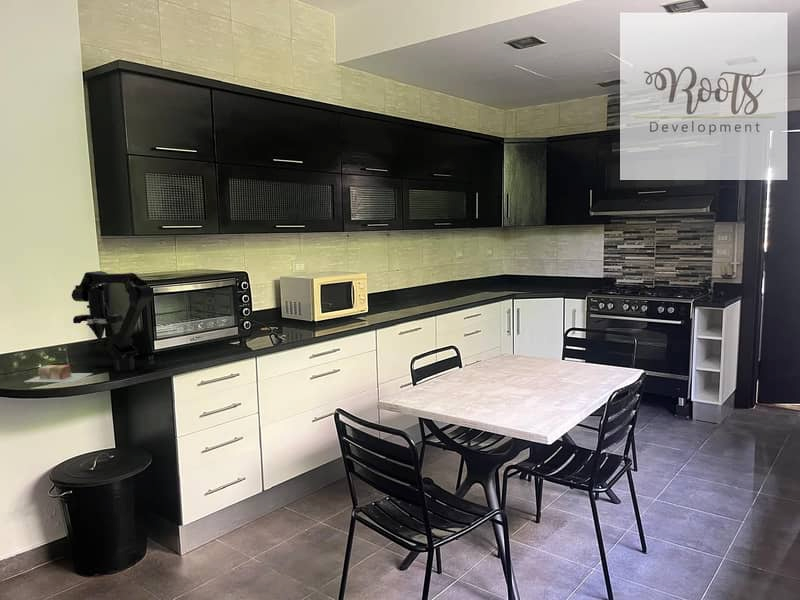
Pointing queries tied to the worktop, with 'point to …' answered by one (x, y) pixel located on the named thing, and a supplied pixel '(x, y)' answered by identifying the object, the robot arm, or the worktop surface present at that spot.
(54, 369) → the maple block
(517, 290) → the worktop surface
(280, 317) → the worktop surface
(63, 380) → the board
